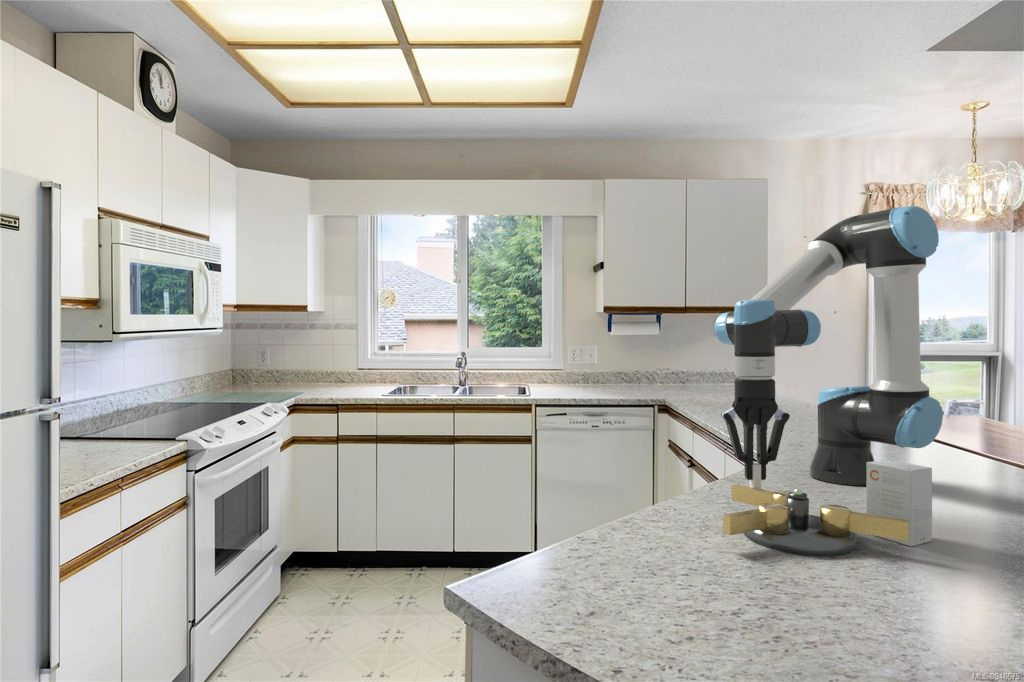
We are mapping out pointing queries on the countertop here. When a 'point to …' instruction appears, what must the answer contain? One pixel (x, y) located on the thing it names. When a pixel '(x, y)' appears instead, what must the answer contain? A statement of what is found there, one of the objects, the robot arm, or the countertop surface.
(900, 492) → the small box
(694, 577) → the countertop surface
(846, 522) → the knob
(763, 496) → the knob
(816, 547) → the tribrach plate
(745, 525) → the knob
